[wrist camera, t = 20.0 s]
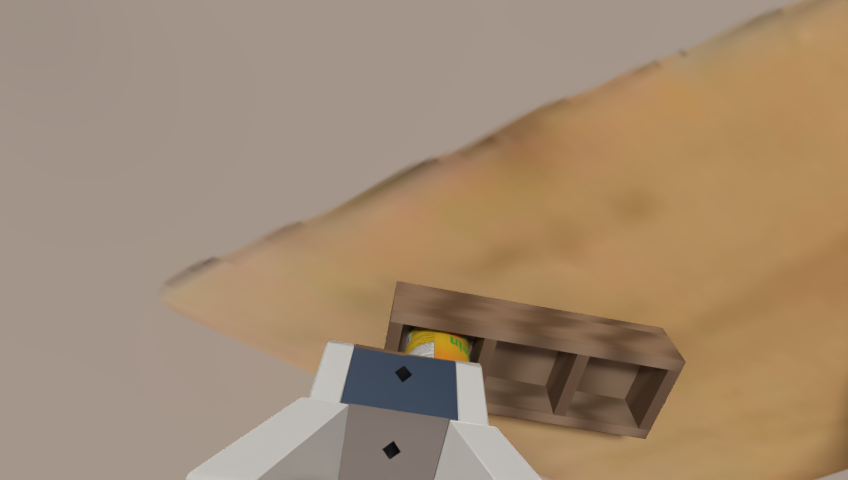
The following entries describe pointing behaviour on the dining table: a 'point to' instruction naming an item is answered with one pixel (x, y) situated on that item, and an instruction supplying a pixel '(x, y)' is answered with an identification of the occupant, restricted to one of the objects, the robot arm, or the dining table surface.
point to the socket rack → (550, 359)
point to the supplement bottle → (437, 344)
